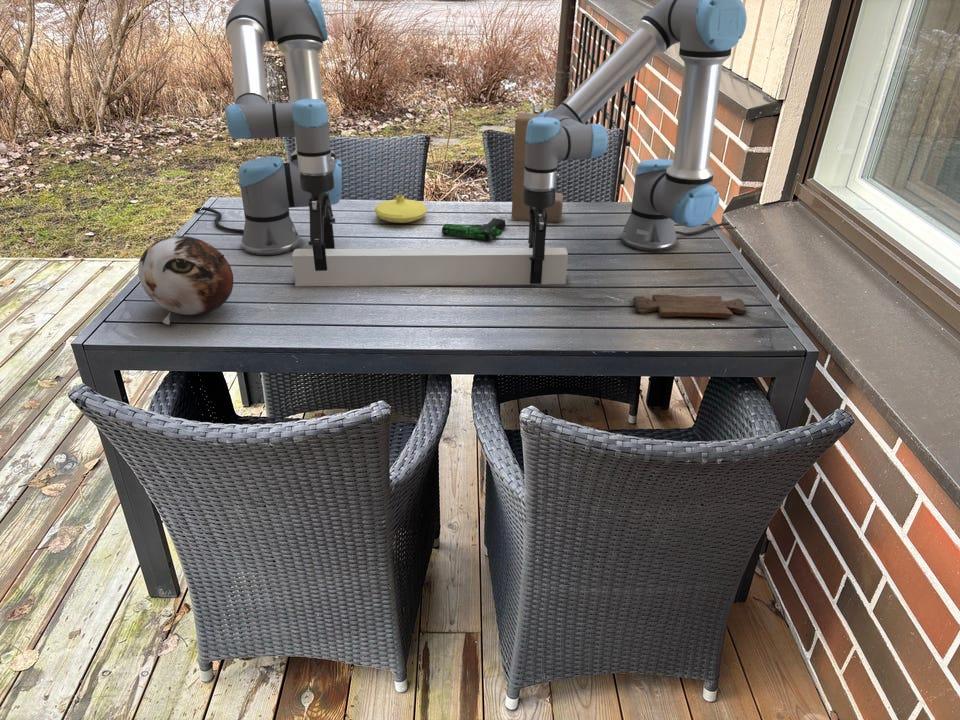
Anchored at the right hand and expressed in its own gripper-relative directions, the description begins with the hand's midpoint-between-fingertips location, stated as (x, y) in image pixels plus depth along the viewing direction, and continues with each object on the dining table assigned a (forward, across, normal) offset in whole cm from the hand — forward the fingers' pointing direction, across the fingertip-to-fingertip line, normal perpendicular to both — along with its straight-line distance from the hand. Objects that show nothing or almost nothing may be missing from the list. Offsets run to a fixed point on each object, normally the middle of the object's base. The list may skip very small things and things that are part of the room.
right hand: (534, 278), depth 179 cm
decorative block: (+1, +46, -6) cm, 46 cm away
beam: (+1, 0, +26) cm, 26 cm away
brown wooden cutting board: (+1, -17, -35) cm, 38 cm away
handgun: (+1, +34, +13) cm, 36 cm away
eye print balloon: (+1, -16, +79) cm, 81 cm away
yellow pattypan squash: (+1, +45, +35) cm, 57 cm away
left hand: (-6, 0, +51) cm, 52 cm away
